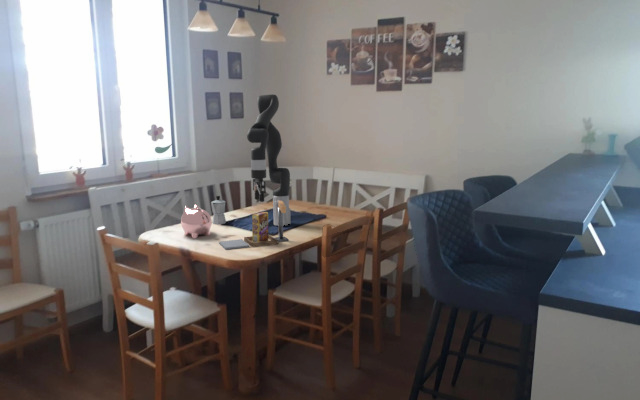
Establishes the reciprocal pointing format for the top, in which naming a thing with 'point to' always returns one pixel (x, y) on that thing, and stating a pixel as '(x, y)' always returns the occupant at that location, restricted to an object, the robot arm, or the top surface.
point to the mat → (233, 244)
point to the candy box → (260, 227)
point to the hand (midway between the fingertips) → (259, 200)
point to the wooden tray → (261, 243)
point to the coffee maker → (218, 211)
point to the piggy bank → (196, 221)
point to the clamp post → (280, 227)
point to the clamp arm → (281, 206)
